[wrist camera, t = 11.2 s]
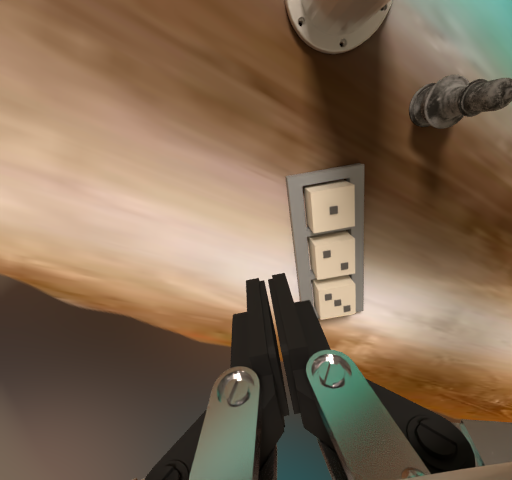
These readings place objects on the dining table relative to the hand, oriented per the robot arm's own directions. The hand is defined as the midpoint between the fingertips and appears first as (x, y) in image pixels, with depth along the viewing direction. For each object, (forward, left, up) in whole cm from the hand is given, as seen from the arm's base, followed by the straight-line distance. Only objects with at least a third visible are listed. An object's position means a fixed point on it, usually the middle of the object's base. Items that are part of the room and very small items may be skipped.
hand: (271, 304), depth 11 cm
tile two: (+13, +11, -28) cm, 33 cm away
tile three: (+21, +11, -28) cm, 37 cm away
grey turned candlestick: (-6, +26, -29) cm, 39 cm away
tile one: (+5, +11, -28) cm, 31 cm away
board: (+13, +11, -28) cm, 33 cm away
